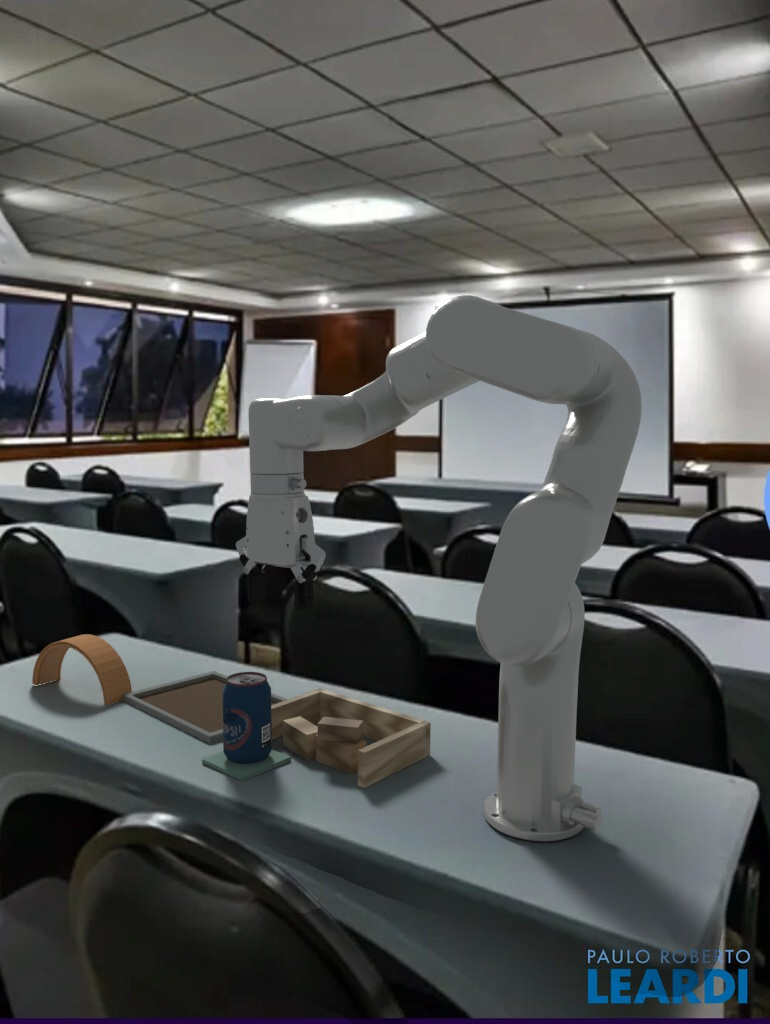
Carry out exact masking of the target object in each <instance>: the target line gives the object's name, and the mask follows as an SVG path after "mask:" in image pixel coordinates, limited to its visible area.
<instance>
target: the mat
mask: <svg viewBox="0 0 770 1024" xmlns="http://www.w3.org/2000/svg"><path fill="white" fill-rule="evenodd" d="M291 759H292V758H291V755H287V754H285V753H282V752H279V751H278V750H275V749H272V750H271V752H270V754H269V756H268V757H267V759H266V760H265V761H264V762H262V763H260V764H257V765H252V766H238V765H234V764H232V763H230V762H229V760H228V759H227V757H226V756H225V754H224V752H223V750H222V751H220V752H218V753H215V754H212V755H211V754H210V755H209V756H207V757H204V758H202V759H201V763H202V764H203V765H205V766H208V767H210V768H212V769H215V770H217V771H219V772H221V773H223V774H225V775H228V776H229V777H232V778H234V779H237V780H239V781H241V782H243V781H247V780H248V779H251V778H253V777H256V776H259V775H260V774H263V773H265V772H267V771H270V770H273V769H274V768H277V767H279V766H282V765H284V764H287V763H289V762H291Z"/></svg>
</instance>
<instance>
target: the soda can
mask: <svg viewBox="0 0 770 1024" xmlns="http://www.w3.org/2000/svg"><path fill="white" fill-rule="evenodd" d="M227 676H228V677H227V679H226V681H227V682H226V684H225V686H224V688H223V690H222V699H223V740H222V746H223V748H222V749H223V750H222V751H223V752H224V754H225V756H226V757H227V759H228V760H229V762H230V763H232V764H234V765H238V766H252V765H257V764H260V763H262V762H264V761H265V760H266V759H267V757H268V756H269V754H270V752H271V750H273V740H272V718H271V693H272V686H271V685H270V683H269V682H268V677H267V675H266V674H265V673H262V672H258V671H241V672H236V673H233V674H230V675H227Z"/></svg>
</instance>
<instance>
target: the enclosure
mask: <svg viewBox="0 0 770 1024" xmlns="http://www.w3.org/2000/svg"><path fill="white" fill-rule="evenodd" d="M299 716H300V717H302V718H304V719H306V720H307V721H309V722H311V723H312V724H314V725H316V724H318V722H319V721H320V720H321V719H322V718H323V717H333V718H343V719H353V720H363V737H365V738H367V739H370V740H371V739H372V740H374V741H375V742H373V743H371V744H369V745H366V747H364V748H362V749H360V750H358V771H357V786H358V787H361V788H363V789H366V788H368V787H370V786H372V785H373V784H375V783H377V782H379V781H381V780H383V779H385V778H387V777H389V776H391V775H393V774H395V773H397V772H399V771H402V770H404V769H405V768H407V767H409V766H411V765H413V764H415V763H418V762H419V761H421V760H423V759H426V758H427V757H428V756H430V755H431V722H430V721H427V720H424V719H420V718H418V717H417V718H416V717H415V716H410V715H408V714H404V713H401V712H398V711H395V710H391V709H389V708H386V707H385V708H384V707H382V706H378V705H374V704H373V703H369V702H365V701H363V700H359V699H356V698H353V697H349V696H346V695H342V694H341V693H337V692H333V691H330V690H327V689H324V688H318V689H314V690H312V691H309V692H306V693H302V694H300V695H297V696H295V697H292V698H289V699H288V700H286V701H283V702H280V703H277V704H274V705H271V718H272V741H273V740H276V739H279V738H282V737H283V720H287V719H291V718H295V717H299Z"/></svg>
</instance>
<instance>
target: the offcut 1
mask: <svg viewBox="0 0 770 1024" xmlns="http://www.w3.org/2000/svg"><path fill="white" fill-rule="evenodd" d="M317 734H318V725H316V724H312V723H311V722H309V721H307V720H306V719H304V718H302V717H300V716H299V717H295V718H291V719H287V720H283V736H282V745H283V746H284V747H286V748H287V749H289V750H290V751H291V752H294V753H295V754H297V755H298V756H300V757H301V758H303V759H305V761H309V760H312V759H316V735H317Z"/></svg>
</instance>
